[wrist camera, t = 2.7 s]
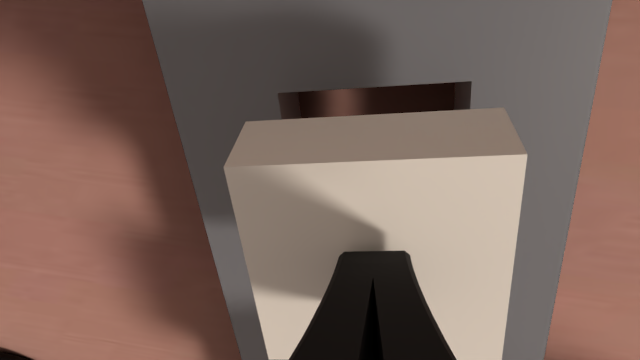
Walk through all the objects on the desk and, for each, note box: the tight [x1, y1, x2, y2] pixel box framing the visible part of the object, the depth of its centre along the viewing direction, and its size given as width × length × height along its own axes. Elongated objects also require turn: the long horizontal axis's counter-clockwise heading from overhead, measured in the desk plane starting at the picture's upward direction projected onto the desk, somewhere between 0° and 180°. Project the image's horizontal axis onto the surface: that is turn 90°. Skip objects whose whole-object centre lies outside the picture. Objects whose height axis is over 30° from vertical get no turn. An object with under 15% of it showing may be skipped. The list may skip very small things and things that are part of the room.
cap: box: [224, 108, 528, 360], centre depth 13 cm, size 6×6×5 cm
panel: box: [142, 0, 612, 360], centre depth 18 cm, size 22×11×3 cm, turn 6°
